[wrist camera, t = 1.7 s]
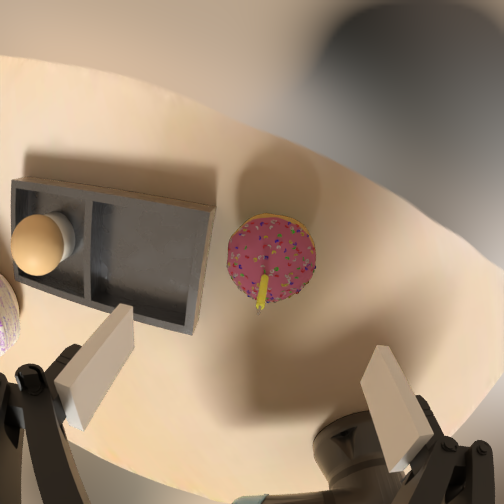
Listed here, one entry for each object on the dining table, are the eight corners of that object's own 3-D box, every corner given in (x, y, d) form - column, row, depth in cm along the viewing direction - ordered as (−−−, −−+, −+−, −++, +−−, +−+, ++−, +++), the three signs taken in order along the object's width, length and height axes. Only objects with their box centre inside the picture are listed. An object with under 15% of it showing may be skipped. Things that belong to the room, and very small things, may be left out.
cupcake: (285, 294, 35) (293, 356, 23) (218, 261, 34) (194, 312, 23) (323, 229, 32) (352, 267, 21) (253, 192, 32) (245, 211, 20)
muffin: (78, 212, 32) (39, 227, 25) (77, 267, 34) (42, 292, 27) (38, 204, 32) (-2, 217, 25) (38, 256, 34) (2, 276, 27)
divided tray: (216, 206, 32) (210, 212, 29) (198, 320, 36) (192, 335, 33) (28, 176, 32) (11, 179, 28) (29, 271, 36) (14, 280, 33)
